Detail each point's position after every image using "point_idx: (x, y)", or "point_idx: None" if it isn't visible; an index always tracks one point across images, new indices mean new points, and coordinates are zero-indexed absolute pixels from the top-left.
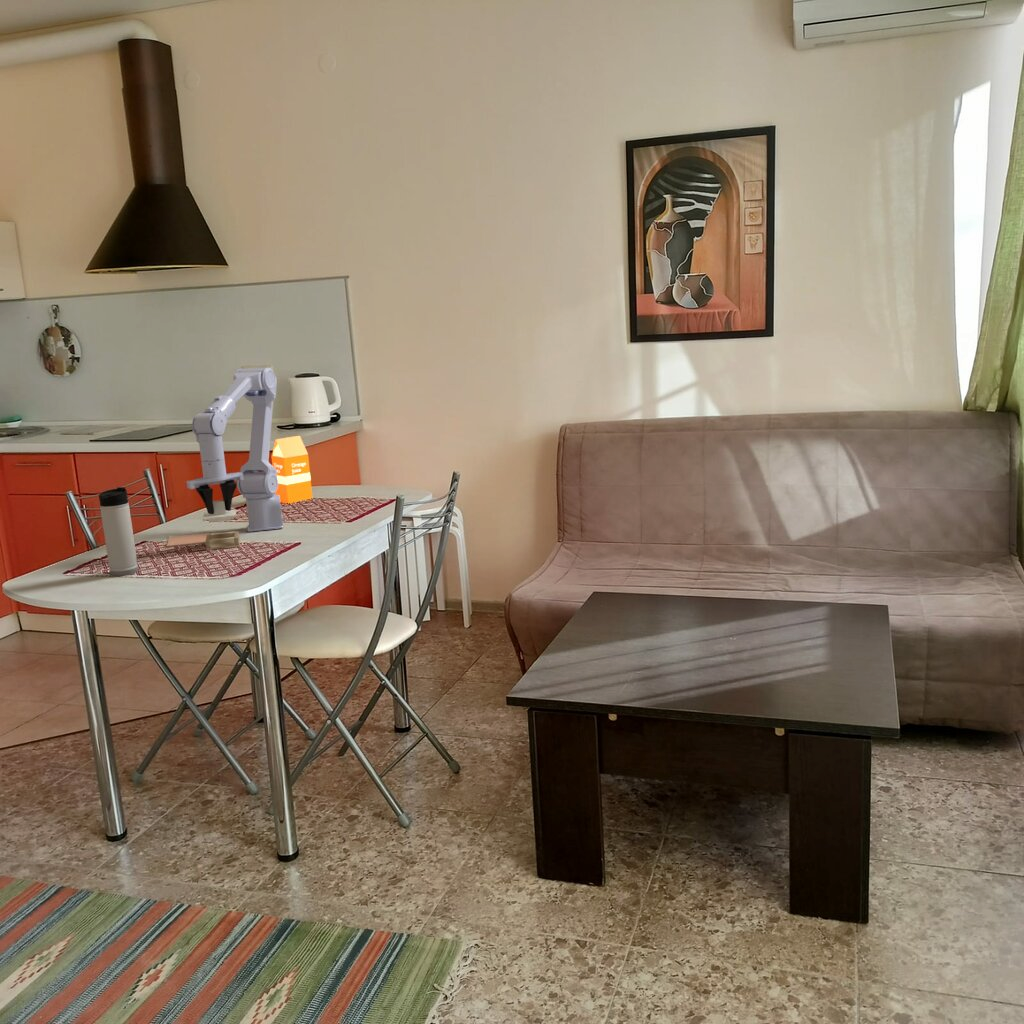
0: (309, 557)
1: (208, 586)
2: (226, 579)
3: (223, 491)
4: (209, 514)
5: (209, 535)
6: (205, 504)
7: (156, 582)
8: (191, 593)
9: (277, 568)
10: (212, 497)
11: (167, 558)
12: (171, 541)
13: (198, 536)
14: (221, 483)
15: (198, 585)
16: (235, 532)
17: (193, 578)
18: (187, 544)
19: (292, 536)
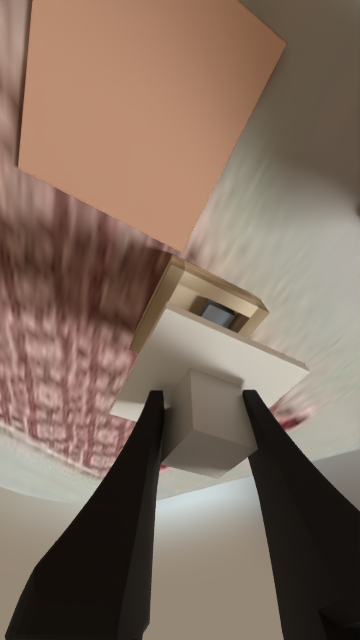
0: (234, 478)
1: (73, 487)
2: (100, 482)
3: (286, 518)
4: (162, 372)
5: (169, 288)
6: (135, 434)
7: (2, 446)
8: (49, 492)
9: (173, 485)
10: (153, 526)
11: (23, 327)
12: (46, 71)
13: (190, 89)
14: (351, 622)
15: (62, 480)
16: (249, 323)
17: (60, 460)
18: (104, 212)
19: (348, 372)
